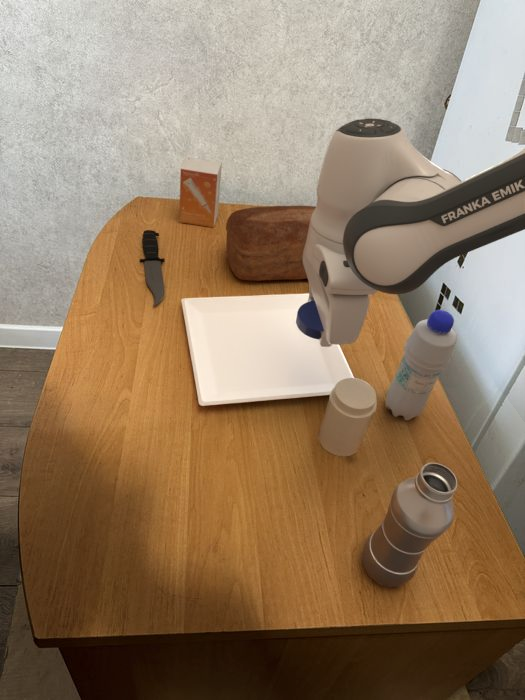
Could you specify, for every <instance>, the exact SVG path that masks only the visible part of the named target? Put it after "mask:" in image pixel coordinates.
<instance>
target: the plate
mask: <svg viewBox="0 0 525 700" xmlns="http://www.w3.org/2000/svg"><path fill="white" fill-rule="evenodd" d="M308 298H309V292H308V293H283V294H260V295H259V294H258V295H257V294H256V295H234V296H233V295H231V296H205V297H184V298H182V299H181V300H180V302H181V306H182V313H183V318H184V324H185V329H186V336H187V341H188V342H187V343H188V348H189V353H190V360H191V365H192V371H193V376H194V383H195V388H196V394H197V400H198V405H200V406H202V407H205V406H216V405H227V404H228V405H229V404H241V403H242V404H243V403H251V402H263V401H275V400H286V399H297V398H309V397H321V396H330V394H331V391H332V389H333V388H334V387H335V385H336V384H337V382H339V381H341V380H343V379H346V378H355V376H354V374H353V371H352V370H351V368H350V366H349V363H348V361H347V359H346V357H345V355H344V352H343V350H342V347H341V346H340V345H332V346H330V347H322V346H321V345H320V341H319V339H314V338H311V337H309V336H307V335H305V334H304V333H302V332H301V331H300V330H299V328H298V327H297V324H296V319H297V312H298V309H299V308H300V306H302V305H303V304H305V303H307V302H308Z"/></svg>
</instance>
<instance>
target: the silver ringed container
mask: <svg viewBox="0 0 525 700" xmlns="http://www.w3.org/2000/svg"><path fill="white" fill-rule="evenodd" d="M457 487H458V479H457V477H456V475H455V473H454V472H453V471H452V470H451V469H450V468H449V467H448V466H446V465H444V464H443V463H439V462H428V463H426V464H424V465H423V466H422V467H421V468H420V470H419V472H418V473H417V474H416V476H414V477H413V476H412V477H409V478H406V479H404V480H403V481H401V482H399V484H397V485H396V486H395V488H394V489H393V491H392V494H391V497H390V500H389V504H388V507H387V511H386V514H385V515H384V518H383V520H382V522H381V524H379V526H378V527H377V529H375V530H374V531H373V532H372V533H371V534H370V535H369V536H368V537H367V538H366V539H365V541H364V543H363V546H362V550H361V563H362V566H363V568H364V570H365V573H367V575H368V577H370V578H371V579H372V580H373V581H374V582H375V583H377V584H379V585H381V586H384V587H387V588H398V587H401V586H403V585H405V584H407V583H408V582H409V581H411V580H412V579H413V578H414V577H415V574H416V572H417V571H418V567H419V563H420V560H421V558H422V557H423V555H424V552H426V550H427V549H428V548H429V547H430V546H431V544H432V543H433V542H434V541H436V540H437V539H438V538H439V537H441V536H442V535H443V534H444V533H446V531H448V529H449V528H451V525H452V524H453V521H454V516H455V506H454V502H453V500H452V499H453V497H454V494H455V492H456V490H457Z"/></svg>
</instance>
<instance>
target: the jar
mask: <svg viewBox="0 0 525 700" xmlns="http://www.w3.org/2000/svg"><path fill="white" fill-rule="evenodd" d="M376 409H377V393H376V390H375V389H374V387H373V386H372V385H371V384H369V383H368V382H367V381H365V380H363V379H360V378H357V377H354V378H346V379H343V380H341V381H339V382H337V384H336V385H335V387H334V388H333V389H332V391H331V394H330V395H329V397H328V401H327V404H326V407H325V411H324V413H323V417H322V419H321V423H320V427H319V430H318V437H317V438H318V441H319V443H320V446H321V447H322V448H323V449H324V450H325V451H327V452H328V453H330V454H331V455H334V456H337V457H350V456H353V455H355V454H357V453H358V452H359V451H360V449H361V447H362V444H363V441H364V440H365V437H366V434H367V432H368V430H369V427H370V425H371V422H372V419H373V417H374V415H375V412H376Z"/></svg>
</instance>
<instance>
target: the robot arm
mask: <svg viewBox="0 0 525 700" xmlns="http://www.w3.org/2000/svg"><path fill="white" fill-rule="evenodd" d="M316 198H317V201H316V206H315V207H316V208H315V210H314V212H313V214H312V216H311V220H310V225H309V230H308V235H307V239H306V243H305V247H304V251H303V265H304V268H305V271H306V275H307V278H306V279H307V281H308V293H309V298H308V302H310V301H315V303H316V306H317V310H318V313H319V316H320V319H321V322H322V326H323V329H324V331H320V334H319V341H320V345H321V346H322V347H330V346H332V345H339V346H340V345H341V346H343V345H344V346H345V345H346V346H347V345H352V344H353V343H356V342H357V340H358V339H359V337H360V334H361V332H362V329H363V326H364V324H365V320H366V319H367V318H366V317H367V315H368V312H369V307H370V299H371V297H370V296H371V295H376V293H377V292H380V293H384V294H387V295H404V294H407V293H411V292H413V291H415V290H416V289H418V288H420V287H421V286H422V285H424V284H425V282H427V281H428V280H429V279H430V278H431V276H433V275H434V274H435V273H436V272H437V271H438V270H439V269H440V268H441V267H443V266H444V265H445V264H447V263H449V262H450V261H452V260H454V259H456V258H458V257H461V256H463V255H465V254H467V253H470V252H473V251H475V250H477V249H480V248H483V247H485V246H488V245H490V244H492V243H494V242H495V243H496V242H497V241H499V240H503V239H505V238H507V237H510V236H512V235H515V234H517V233H519V232H522V231H524V230H525V147H524V148H522V149H521V150H520V151H519V152H517V153H515V154H513V155H512V156H510V157H509V158H507V159H505V160H503V161H501V162H499V163H496V164H495V165H493V166H491V167H489V168H487V169H485V170H483V171H481V172H478V173H477V174H474V175H472V176H470V177H468V178H466V179H464V180H461V179H460V178H459V177H458V176H457V175H456V174H454V173H453V172H451V171H449V170H448V169H444V168H441V167H439V166H438V165H436V164H435V163H433V162H432V161H430V160H429V159H428V157H425V156H424V155H423V154H422V153H421V152H419V150H418V149H417V148H415V146H414V145H413V144H412V143H411V141H410V140H409V139H408V137H407V135H406V133H405V131H404V130H403V128H402V127H401V126H400V125H398V124H397V123H395V122H392V121H390V120H387V119H382V118H362V119H361V118H360V119H354V120H352V121H349V122H347V123H345V124H343V125H341V126H340V127H338V128H337V129H336V130H335V131H334V132H333V134H332V136H331V138H330V140H329V143H328V145H327V148H326V152H325V155H324V158H323V161H322V164H321V168H320V172H319V177H318V182H317V186H316Z"/></svg>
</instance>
